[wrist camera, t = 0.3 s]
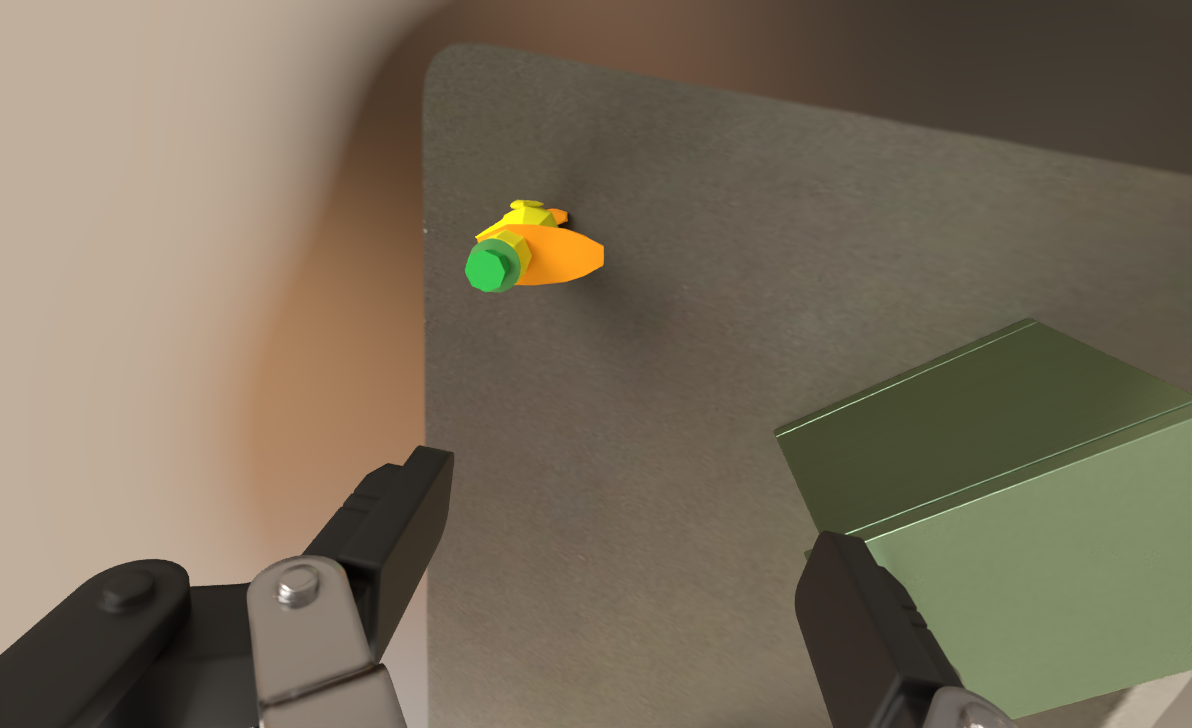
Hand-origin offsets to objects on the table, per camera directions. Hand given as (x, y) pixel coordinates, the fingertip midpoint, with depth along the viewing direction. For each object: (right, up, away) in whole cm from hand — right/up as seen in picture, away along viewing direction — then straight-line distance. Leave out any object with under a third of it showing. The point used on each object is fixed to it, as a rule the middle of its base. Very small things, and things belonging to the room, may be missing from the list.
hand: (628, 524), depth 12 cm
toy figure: (-3, +11, +20) cm, 24 cm away
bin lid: (+20, -7, +14) cm, 25 cm away
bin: (+21, -3, +24) cm, 32 cm away
